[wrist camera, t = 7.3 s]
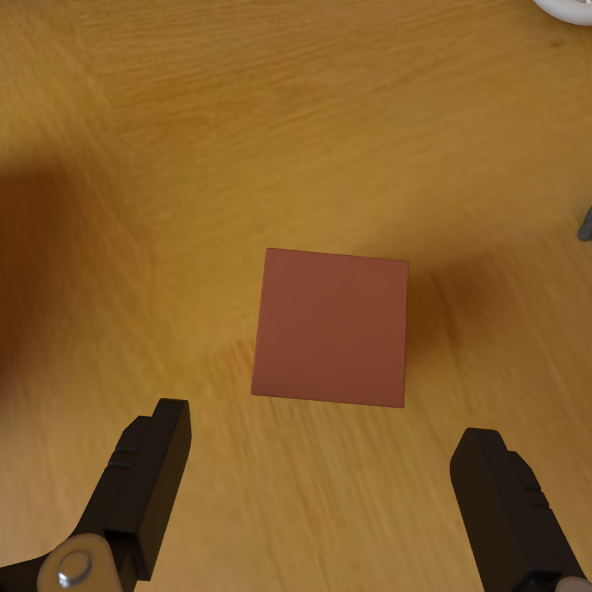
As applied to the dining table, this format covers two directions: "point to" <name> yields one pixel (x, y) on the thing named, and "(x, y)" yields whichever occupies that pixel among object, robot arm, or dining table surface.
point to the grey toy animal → (586, 227)
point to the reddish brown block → (332, 328)
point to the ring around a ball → (568, 10)
